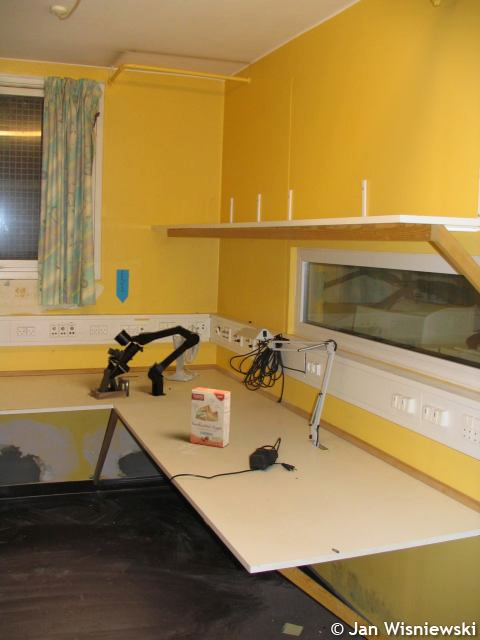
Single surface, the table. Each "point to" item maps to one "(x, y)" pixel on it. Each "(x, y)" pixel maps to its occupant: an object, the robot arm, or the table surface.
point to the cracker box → (210, 417)
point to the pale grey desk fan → (179, 372)
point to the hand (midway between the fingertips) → (106, 376)
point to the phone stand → (108, 382)
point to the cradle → (114, 394)
